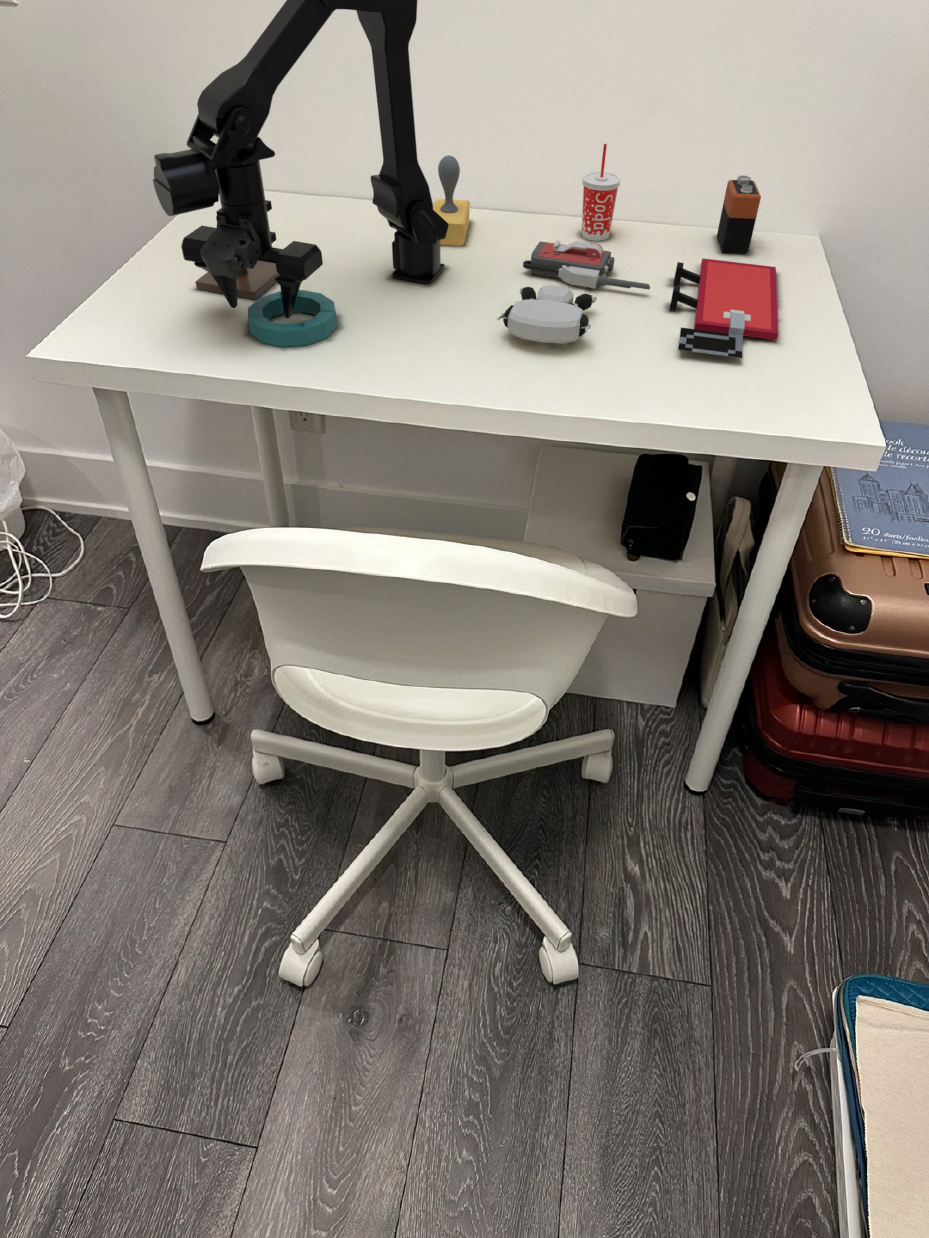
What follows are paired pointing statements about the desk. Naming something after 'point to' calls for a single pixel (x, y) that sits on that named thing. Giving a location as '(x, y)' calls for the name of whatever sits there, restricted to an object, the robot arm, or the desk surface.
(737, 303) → the red board with handle
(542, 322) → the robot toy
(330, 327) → the ring
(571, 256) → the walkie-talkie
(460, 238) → the rubber stamp
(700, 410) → the desk surface
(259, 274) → the stand
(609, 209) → the beverage cup
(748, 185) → the battery
